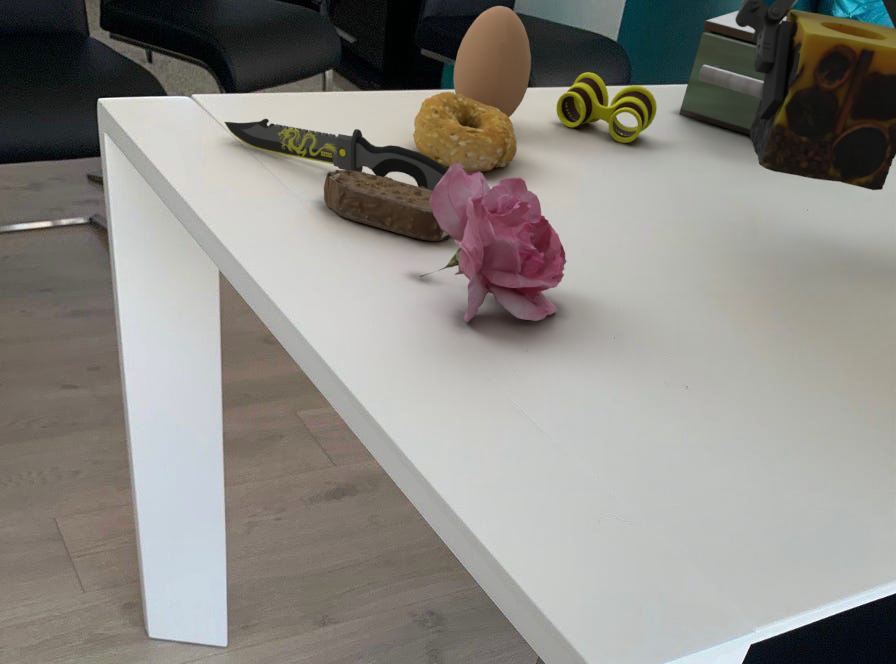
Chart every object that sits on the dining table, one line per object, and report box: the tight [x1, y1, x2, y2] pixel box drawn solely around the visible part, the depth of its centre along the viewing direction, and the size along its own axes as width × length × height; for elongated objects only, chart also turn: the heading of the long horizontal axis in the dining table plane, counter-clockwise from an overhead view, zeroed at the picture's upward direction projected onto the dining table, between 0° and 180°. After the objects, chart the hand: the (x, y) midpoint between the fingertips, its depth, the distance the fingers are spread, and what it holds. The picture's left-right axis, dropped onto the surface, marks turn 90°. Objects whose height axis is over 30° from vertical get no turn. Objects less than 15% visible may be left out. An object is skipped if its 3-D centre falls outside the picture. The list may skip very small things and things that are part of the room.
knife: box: [224, 118, 449, 191], centre depth 88 cm, size 23×2×5 cm, turn 62°
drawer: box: [681, 32, 765, 130], centre depth 118 cm, size 19×12×8 cm, turn 148°
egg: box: [453, 5, 532, 119], centre depth 103 cm, size 8×8×11 cm
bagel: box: [412, 91, 518, 173], centre depth 96 cm, size 10×11×5 cm
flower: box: [419, 163, 568, 324], centre depth 72 cm, size 11×10×10 cm
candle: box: [749, 9, 896, 191], centre depth 83 cm, size 10×10×10 cm
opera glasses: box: [556, 71, 657, 144], centre depth 109 cm, size 10×5×5 cm, turn 62°
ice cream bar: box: [323, 169, 451, 242], centre depth 81 cm, size 5×15×3 cm, turn 70°
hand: (838, 121), depth 81 cm, fingers closed on candle, 10 cm apart
